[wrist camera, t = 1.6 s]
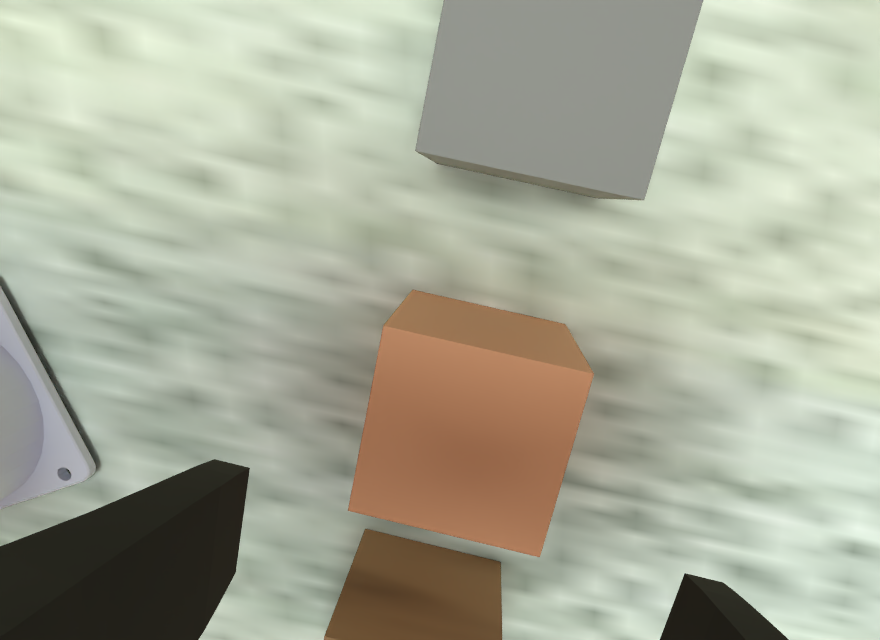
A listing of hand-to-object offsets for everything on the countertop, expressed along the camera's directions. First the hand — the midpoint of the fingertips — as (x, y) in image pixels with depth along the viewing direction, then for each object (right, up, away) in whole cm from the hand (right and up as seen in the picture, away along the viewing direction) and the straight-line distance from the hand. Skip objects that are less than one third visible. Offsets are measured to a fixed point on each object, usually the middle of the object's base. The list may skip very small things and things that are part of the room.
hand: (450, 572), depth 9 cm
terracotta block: (+1, +2, +9) cm, 10 cm away
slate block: (+3, +11, +7) cm, 13 cm away
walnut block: (-1, -6, +11) cm, 13 cm away
